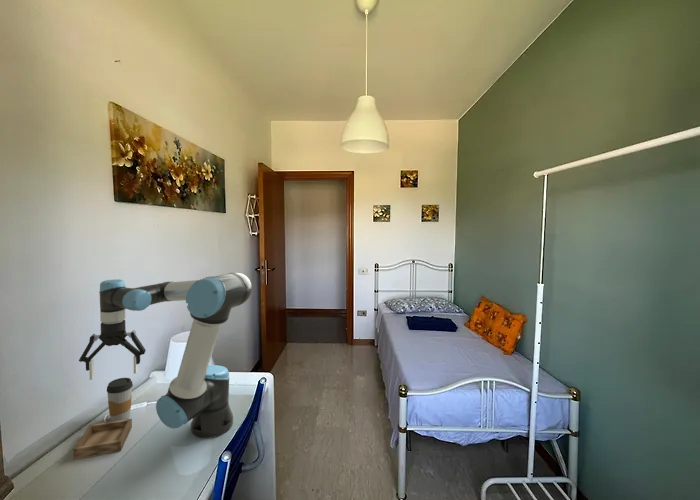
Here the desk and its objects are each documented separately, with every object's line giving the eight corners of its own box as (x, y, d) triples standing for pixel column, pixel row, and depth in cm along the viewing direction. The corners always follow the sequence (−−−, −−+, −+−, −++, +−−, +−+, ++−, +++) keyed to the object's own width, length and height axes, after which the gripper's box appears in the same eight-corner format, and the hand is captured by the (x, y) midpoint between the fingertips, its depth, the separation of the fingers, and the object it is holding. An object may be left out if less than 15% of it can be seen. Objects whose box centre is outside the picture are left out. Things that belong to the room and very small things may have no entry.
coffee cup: (138, 414, 128) (137, 379, 127) (118, 427, 120) (118, 389, 119) (122, 410, 130) (121, 375, 129) (101, 422, 122) (100, 385, 121)
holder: (131, 427, 120) (131, 418, 120) (121, 450, 108) (120, 441, 108) (90, 434, 115) (89, 425, 115) (73, 459, 103) (73, 449, 103)
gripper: (153, 315, 128) (153, 365, 130) (74, 321, 117) (76, 375, 119) (150, 320, 121) (151, 373, 123) (66, 327, 110) (68, 385, 112)
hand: (114, 375), depth 121 cm, fingers open, 13 cm apart
